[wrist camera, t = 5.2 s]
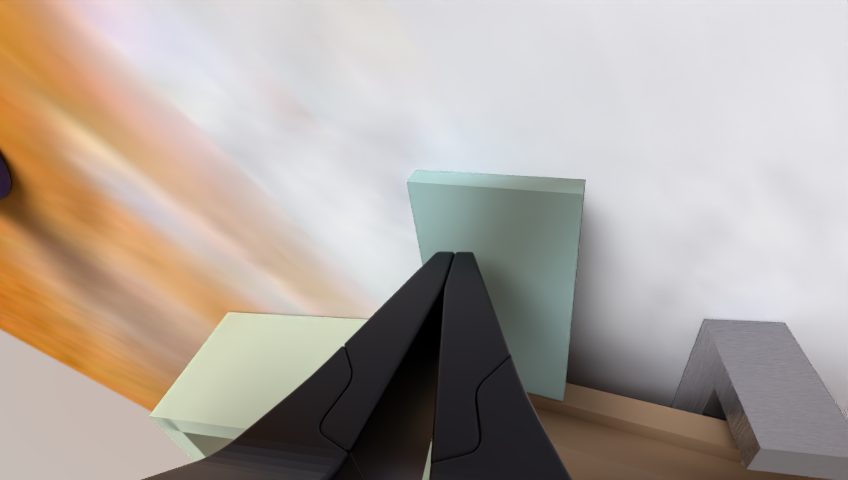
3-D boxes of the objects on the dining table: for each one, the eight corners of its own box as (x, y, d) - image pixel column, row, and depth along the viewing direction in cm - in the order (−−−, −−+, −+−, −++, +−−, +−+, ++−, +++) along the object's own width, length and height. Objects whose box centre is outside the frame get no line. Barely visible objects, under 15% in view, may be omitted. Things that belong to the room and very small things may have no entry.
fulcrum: (785, 322, 12) (872, 460, 9) (691, 491, 18) (723, 603, 15) (704, 319, 12) (760, 448, 9) (641, 485, 19) (663, 591, 16)
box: (435, 323, 15) (406, 450, 11) (460, 453, 20) (446, 565, 17) (228, 311, 17) (149, 415, 13) (302, 432, 22) (260, 528, 19)
